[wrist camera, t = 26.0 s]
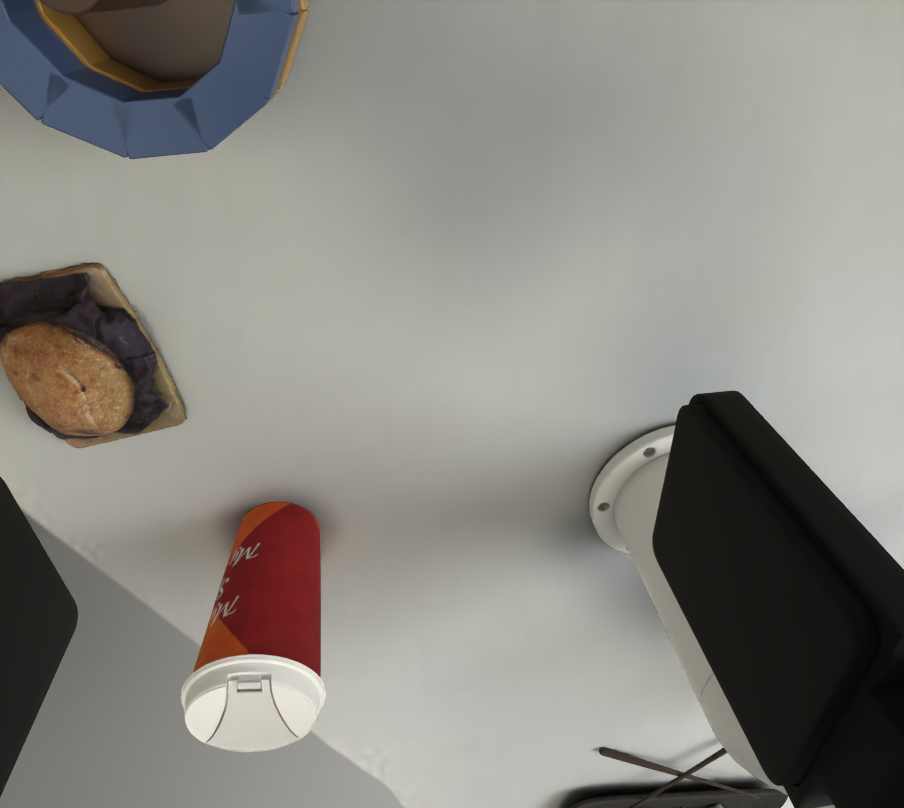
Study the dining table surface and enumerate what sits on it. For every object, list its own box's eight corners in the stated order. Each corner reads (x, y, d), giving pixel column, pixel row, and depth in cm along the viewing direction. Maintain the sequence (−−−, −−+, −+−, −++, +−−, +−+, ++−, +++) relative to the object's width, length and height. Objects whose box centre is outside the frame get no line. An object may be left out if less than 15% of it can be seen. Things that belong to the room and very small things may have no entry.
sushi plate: (540, 840, 80) (547, 875, 77) (609, 710, 64) (621, 747, 61) (741, 827, 85) (755, 859, 82) (851, 704, 69) (874, 738, 66)
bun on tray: (198, 415, 39) (185, 452, 36) (66, 445, 39) (42, 484, 36) (113, 255, 32) (88, 284, 29) (-43, 291, 32) (-84, 323, 29)
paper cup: (220, 488, 42) (166, 680, 30) (336, 491, 43) (326, 675, 32) (228, 567, 46) (182, 762, 35) (333, 567, 47) (323, 755, 36)
